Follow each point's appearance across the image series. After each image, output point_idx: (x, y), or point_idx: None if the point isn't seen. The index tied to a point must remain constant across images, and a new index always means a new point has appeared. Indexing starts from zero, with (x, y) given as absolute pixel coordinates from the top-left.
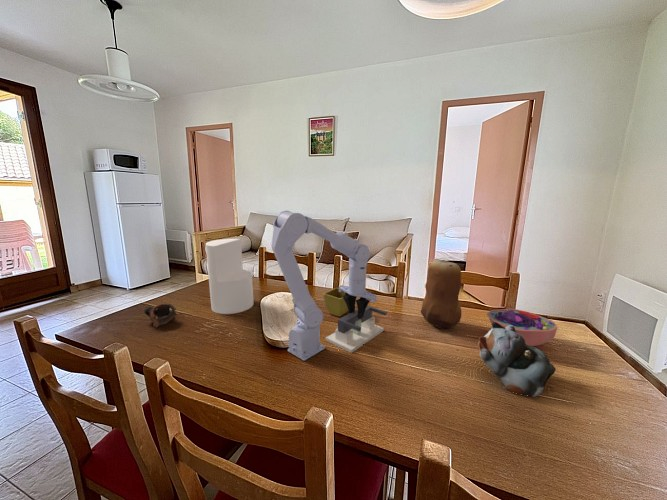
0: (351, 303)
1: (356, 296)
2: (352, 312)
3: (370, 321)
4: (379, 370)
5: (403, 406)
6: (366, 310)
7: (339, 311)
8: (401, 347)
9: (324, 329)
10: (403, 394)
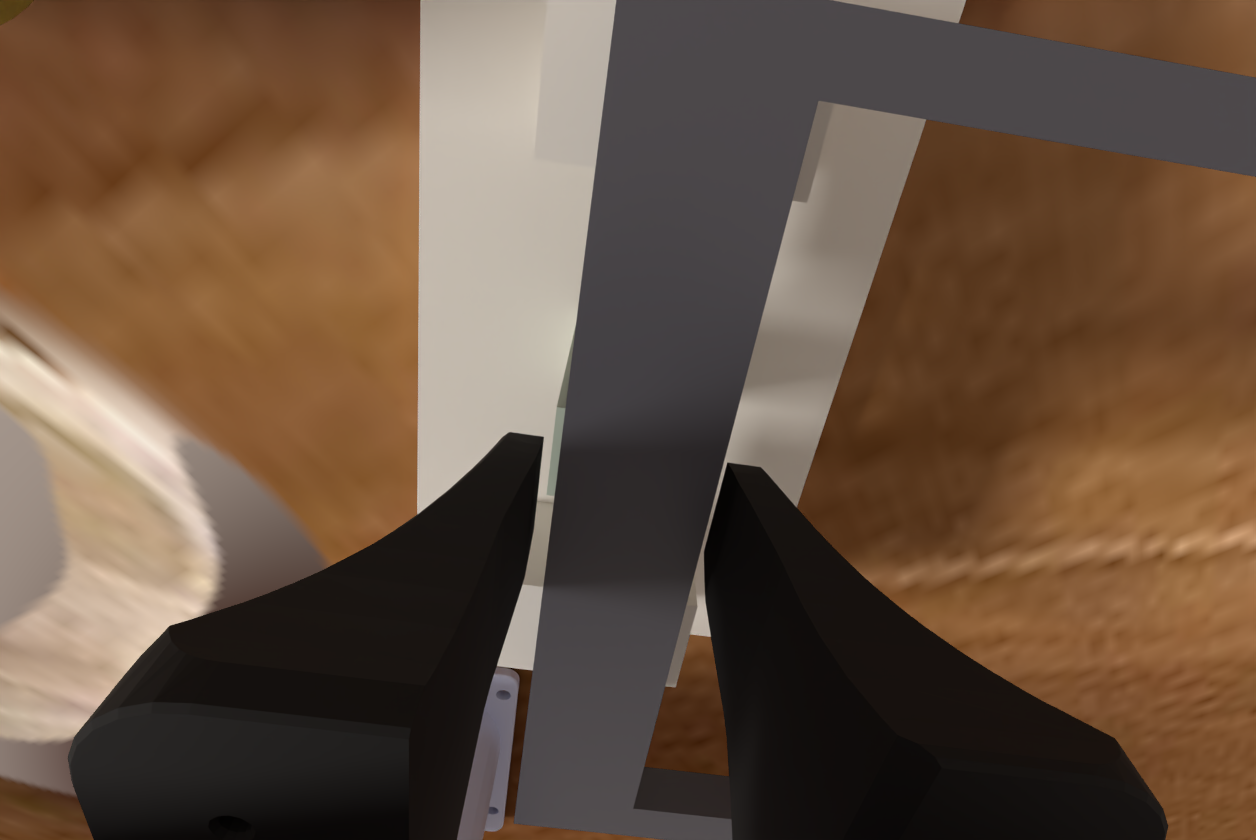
0: (476, 703)
1: (450, 663)
2: (556, 566)
3: (805, 187)
4: (1040, 683)
5: (1219, 836)
6: (763, 299)
7: (7, 20)
8: (1251, 288)
9: (242, 423)
10: (1225, 780)
